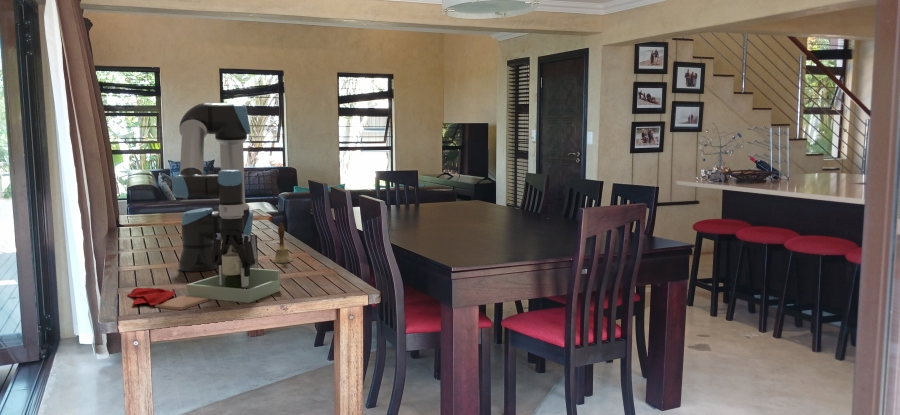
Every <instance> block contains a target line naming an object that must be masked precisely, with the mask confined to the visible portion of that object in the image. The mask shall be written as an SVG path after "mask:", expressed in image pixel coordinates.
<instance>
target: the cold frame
mask: <svg viewBox="0 0 900 415" xmlns="http://www.w3.org/2000/svg"><path fill="white" fill-rule="evenodd" d="M280 272H281V271H280V270H279V269H278V270H277V269H267V268H266V269H265V268H258V269H255V268H250V276H248V280H249V285H248V286H245V287H244V289H238V288H228V287H225V284H223V285H220V282H219V274H217V275H214V276H211V277H207V278H204V279H200V280H197V281H194V282H191V283H187V284H186V296H192V297H202V298H208V300H218V301H226V302H237V303H246V304H247V303H248V304H249V303H252V302H255V301H257V300H259V299H262V298H263V299H264V298H265V297H268V296H270V295H273V294H275V293H277V292H280V291H281V277H280V276H281V275H280ZM226 276H227V275H226ZM246 288H247V289H246Z"/></svg>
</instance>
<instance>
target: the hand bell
mask: <svg viewBox="0 0 900 415" xmlns="http://www.w3.org/2000/svg"><path fill="white" fill-rule="evenodd" d="M285 232H286V231H285V226H284V223H282V222H280V223H278V227H277V233H278V237H279V247H277V248H276V251H275V255H274V256H275V257H274V258H273V259H272V261H271V262H272V263H274V264H286V263H292V262H293V261H294V260H293V258H291V256H290V255H289V251H288V247H286V246H285V243H284V242H285V241H284V237H285Z"/></svg>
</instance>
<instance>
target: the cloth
mask: <svg viewBox="0 0 900 415" xmlns="http://www.w3.org/2000/svg"><path fill="white" fill-rule="evenodd" d="M175 294H176V292H175V291H174V290H173V291H172V290H171V291H170V290H169V289H167V290H166V289H163V288H158V287H157V288H153V287H145V288H144V287H136V288H133V289H132V291H131V292H130V293H129V294H126V296H127V297H131V298H136V299H135V300H134V301H133V302H132V305H134V306H136V305H139V304H149V305H150V306H155V305H156V304H159V303H162V302H164V301H167V300H170V298H172V297H173V296H175Z"/></svg>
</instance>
